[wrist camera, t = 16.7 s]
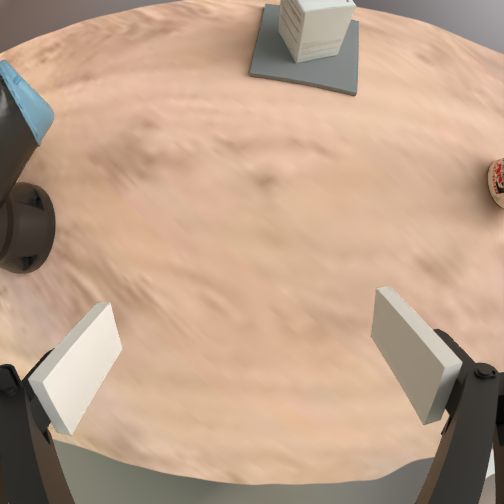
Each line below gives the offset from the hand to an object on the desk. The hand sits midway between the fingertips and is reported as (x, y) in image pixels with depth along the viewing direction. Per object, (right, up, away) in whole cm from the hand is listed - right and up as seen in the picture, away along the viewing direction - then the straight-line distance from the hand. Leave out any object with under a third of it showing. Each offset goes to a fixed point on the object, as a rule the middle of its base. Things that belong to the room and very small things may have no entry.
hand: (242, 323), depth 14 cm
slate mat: (+9, +36, +26) cm, 45 cm away
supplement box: (+9, +36, +25) cm, 45 cm away
